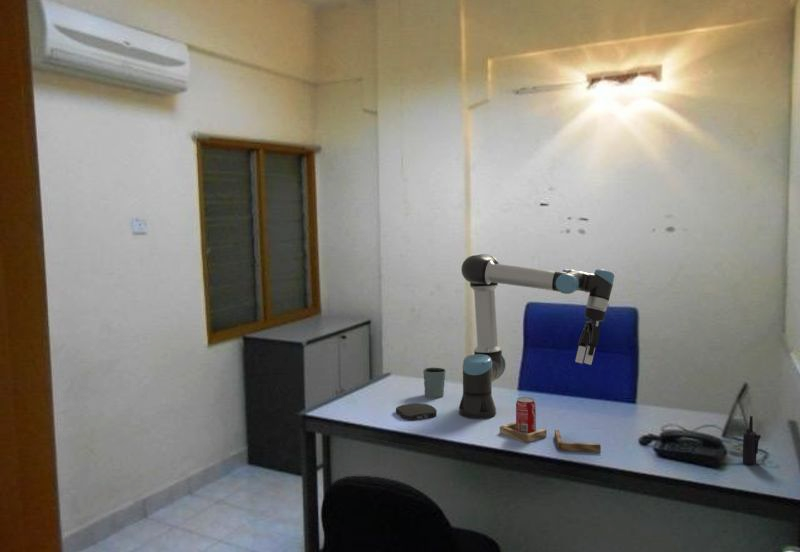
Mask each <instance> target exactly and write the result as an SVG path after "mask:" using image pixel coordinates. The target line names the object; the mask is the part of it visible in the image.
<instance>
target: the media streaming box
mask: <svg viewBox="0 0 800 552" xmlns="http://www.w3.org/2000/svg"><path fill="white" fill-rule="evenodd" d="M437 411H438V410H437V409H436V408H435V407H434V406H432V405H431V404H427V403H418V402H415V403H414V402H413V403H406V404H401V405H398V406H396V408H395V413H396V415H398V416H399V417H400V418H401V419H403V420H406V421H418V420H426V419H427V420H429V419H434V418H435V417H437V413H438V412H437Z"/></svg>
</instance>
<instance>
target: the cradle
mask: <svg viewBox="0 0 800 552" xmlns="http://www.w3.org/2000/svg"><path fill="white" fill-rule="evenodd" d="M554 438H555V442H556V446H557V447H556V448H557V450H559V451H561V452H562V451H563V452H565V451H566V452H582V453H583V452H586V453H588V452H589V453H601V447H602V446H601V443H596V442H576V441H575V442H574V441H573V442H571V441H563V438H562V436H561V432H560V430H559V429H554Z"/></svg>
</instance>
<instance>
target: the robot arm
mask: <svg viewBox="0 0 800 552" xmlns="http://www.w3.org/2000/svg"><path fill="white" fill-rule="evenodd" d="M460 269H461V274H462V277H463V278H464V280H466V281H467V282H469V286H470V288H471V289H472V290H473V291H474V292H473V294H474V309H475V311H474V312H475V324H476V326H475V327H476V342H477V343H476V344H477V346H476V347H475V348H474V349H473V353H474V354H470V355H467V356H466V357H464V359H463V360H462V397H461V400H460V402H459V403H460V404H459V406H458V415H460V416H462V417H464V418H467V419H474V420H481V419H482V420H483V419H484V420H485V419H490V418H493V417H495V416H496V415H497V407H496V405H495V402H494V399H493V396H492V393H493V392H492V391H493V389H492V386H493V385H492V382H494V381H496V380H497V379H499V378H501V376H502V375H503V374H504V372H505V370H506V367H507V366H506V365H507V363H506V358H505V357H504V355H503V351H502V348H501V347H500V346H499V345H498V328H497V327H498V324H497V311H496V310H497V309H496V296H495V290H496V288H497V287H498V286H499V285H498V284H502V285H510V286H517V287H523V288H524V287H525V288H531V289H539V290H547V291H553V292H557V293H558V292H559V293H561V294H565V295H570V294H573V293H574V292H576V291H579V292H584V293H588V294H589V295H588V298H587V302H586V307H587V308H585V309H584V310H585V311H584V314H583V317H584V318H585V319H588V321H585V322H584V326H583V328H582V332H581V334H580V337H579V340H578V341H577V345H578V347H577V352H576V356H575V361H574V362H575V363H579V364H587V365H589V366H591V365H592V363H593V360H594V356H595V352H596V348H597V346H599V339H600V331H601V325H602V322H604V321H605V318H606V314H607V313H606V311H607V309H608V307H610V303H609V301H610V297H611V294H612V290H613V286H614V279H615V274H614V273H613V272H612V271H609V270H606V269H600V268H597V269H595V270H594V273H589V272H585V271H580V270H576V269H573V268H571V269H570V268H564V269H563V270H562V271H557V270H556V271H555V270H549V269H548V270H547V269H541V268H540V269H539V268H531V267H524V266H515V265H508V264H502V263H500V262H499V261H498V259H497V258H496V257H495V256H493V255H491V254H485V253H482V254H477V255H470V256H468V257H467V258H465V260H464V261H463V262H462V264H461V268H460Z"/></svg>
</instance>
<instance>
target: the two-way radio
mask: <svg viewBox="0 0 800 552" xmlns="http://www.w3.org/2000/svg"><path fill="white" fill-rule="evenodd" d="M753 421H754V420H753V416H752V415H750V416H749V424H748V428H746V431H745V432H743V439H742V441H743V442H742V463H743V464H746V465H754V464H756V463H757V455H758V452H759V442H760V439H761V437H762V436H761V434H757V432H755V431H753V430H754V429H753V428H754V427H753V425H754V424H753V423H754V422H753Z"/></svg>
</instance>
